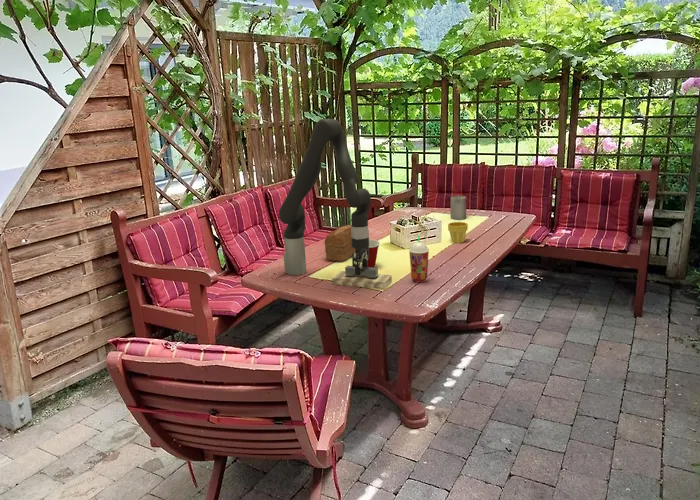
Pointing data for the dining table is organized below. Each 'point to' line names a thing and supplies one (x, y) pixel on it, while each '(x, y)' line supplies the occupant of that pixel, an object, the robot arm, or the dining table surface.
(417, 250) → the smoothie
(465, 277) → the dining table surface
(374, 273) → the grey bridge block
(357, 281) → the ice cube tray
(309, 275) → the dining table surface
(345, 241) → the bread
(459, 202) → the pillar candle
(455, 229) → the plant pot
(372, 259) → the plastic cup
